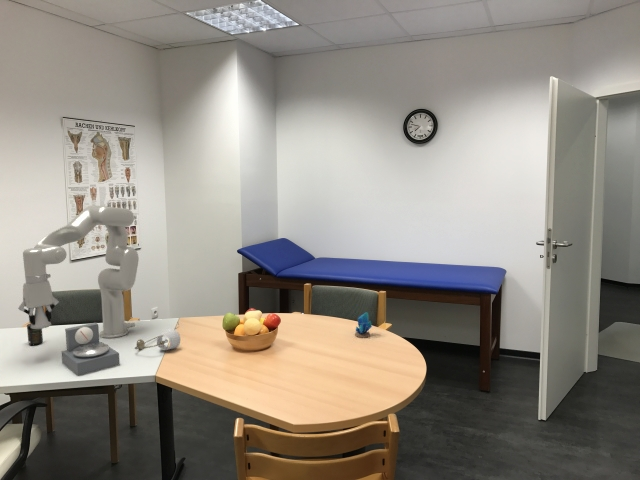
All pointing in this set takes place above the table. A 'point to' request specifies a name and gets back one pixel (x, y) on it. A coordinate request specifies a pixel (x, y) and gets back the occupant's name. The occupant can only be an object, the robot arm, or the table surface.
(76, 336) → the scale
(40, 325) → the flask
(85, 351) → the pan
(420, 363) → the table surface
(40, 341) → the supplement container
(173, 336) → the light fixture
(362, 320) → the gemstone
